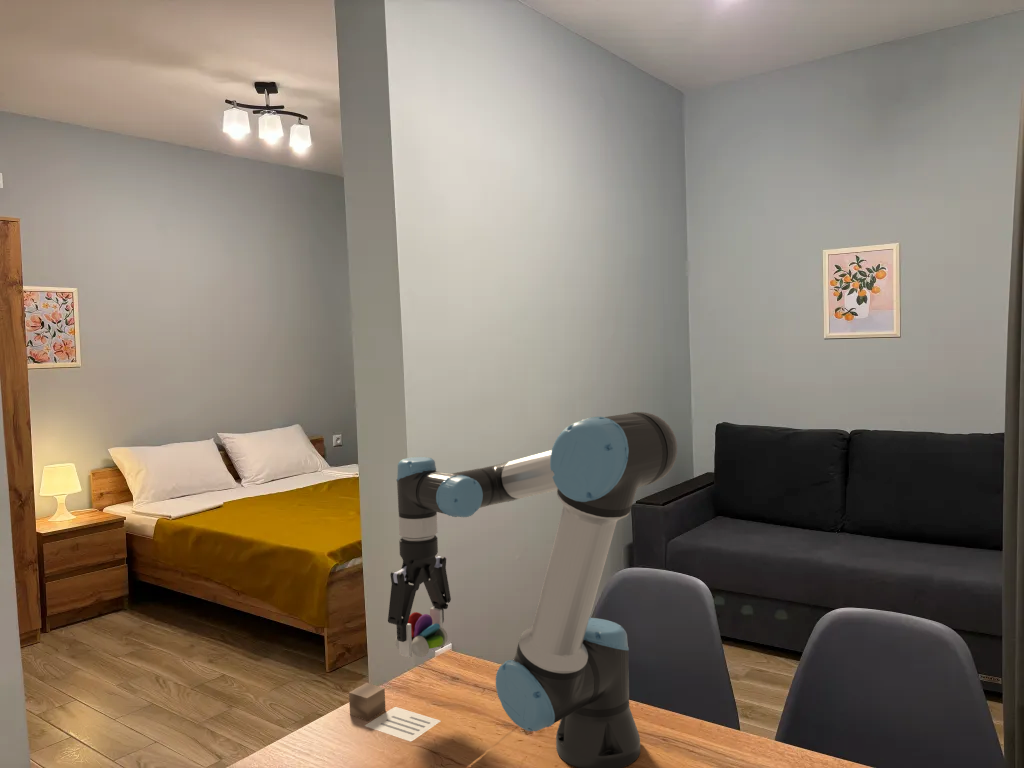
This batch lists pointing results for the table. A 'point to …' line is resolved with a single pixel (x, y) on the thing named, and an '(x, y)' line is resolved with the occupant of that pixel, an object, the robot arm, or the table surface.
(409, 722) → the letter
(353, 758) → the table surface
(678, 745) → the table surface
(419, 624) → the rainbow petal toy
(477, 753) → the table surface
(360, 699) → the walnut block
